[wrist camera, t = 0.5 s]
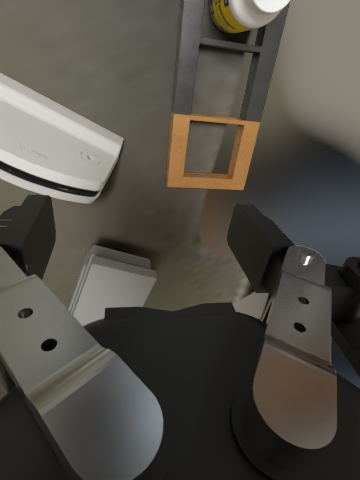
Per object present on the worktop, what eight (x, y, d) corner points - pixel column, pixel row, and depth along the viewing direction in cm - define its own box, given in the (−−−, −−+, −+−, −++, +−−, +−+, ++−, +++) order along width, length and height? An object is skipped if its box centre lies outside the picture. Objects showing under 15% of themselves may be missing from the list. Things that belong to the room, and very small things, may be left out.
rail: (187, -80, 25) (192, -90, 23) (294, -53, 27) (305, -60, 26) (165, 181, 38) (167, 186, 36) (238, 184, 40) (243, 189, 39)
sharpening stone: (98, 217, 39) (92, 263, 30) (149, 232, 42) (157, 278, 33) (59, 331, 50) (45, 390, 41) (101, 337, 53) (97, 393, 44)
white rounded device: (126, 140, 34) (114, 191, 28) (112, 167, 37) (98, 219, 31) (-28, 58, 27) (-92, 100, 21) (-29, 99, 30) (-86, 148, 24)
